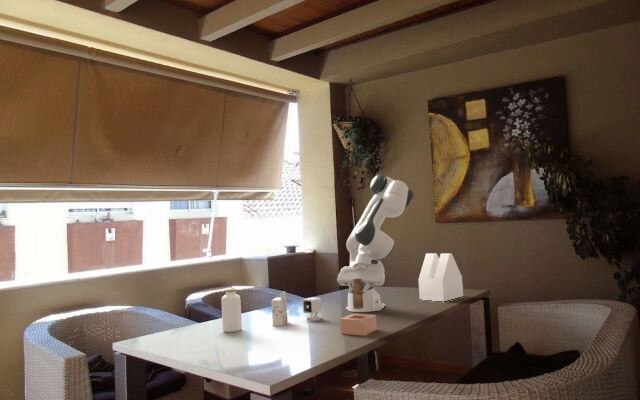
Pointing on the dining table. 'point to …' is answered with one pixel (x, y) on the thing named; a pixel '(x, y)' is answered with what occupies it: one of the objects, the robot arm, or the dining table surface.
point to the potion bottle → (231, 311)
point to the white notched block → (440, 278)
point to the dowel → (357, 293)
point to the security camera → (312, 308)
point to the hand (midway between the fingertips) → (357, 292)
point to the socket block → (358, 324)
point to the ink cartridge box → (279, 310)
